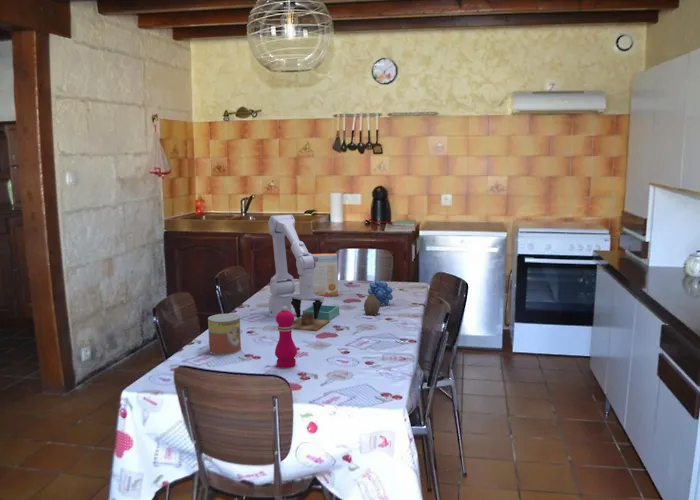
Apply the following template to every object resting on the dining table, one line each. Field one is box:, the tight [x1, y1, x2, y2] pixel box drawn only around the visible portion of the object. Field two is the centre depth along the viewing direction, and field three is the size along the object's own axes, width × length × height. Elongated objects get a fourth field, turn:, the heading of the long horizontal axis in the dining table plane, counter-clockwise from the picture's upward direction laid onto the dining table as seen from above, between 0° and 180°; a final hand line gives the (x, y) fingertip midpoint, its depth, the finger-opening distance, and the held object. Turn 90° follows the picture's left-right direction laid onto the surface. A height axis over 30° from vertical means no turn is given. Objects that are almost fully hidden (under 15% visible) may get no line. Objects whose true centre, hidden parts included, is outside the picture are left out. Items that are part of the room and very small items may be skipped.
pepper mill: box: [274, 306, 298, 369], centre depth 202 cm, size 7×7×20 cm
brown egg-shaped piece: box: [363, 293, 381, 316], centre depth 267 cm, size 7×7×9 cm
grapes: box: [367, 279, 394, 306], centre depth 282 cm, size 12×7×12 cm, turn 86°
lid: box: [292, 312, 331, 333], centre depth 249 cm, size 14×14×5 cm
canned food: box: [207, 313, 242, 356], centre depth 219 cm, size 11×11×12 cm
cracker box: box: [311, 252, 339, 297], centre depth 304 cm, size 14×6×21 cm, turn 94°
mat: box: [292, 321, 333, 333], centre depth 249 cm, size 16×16×1 cm
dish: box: [302, 304, 340, 322], centre depth 263 cm, size 12×12×4 cm
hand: (307, 317), depth 248 cm, fingers open, 7 cm apart
